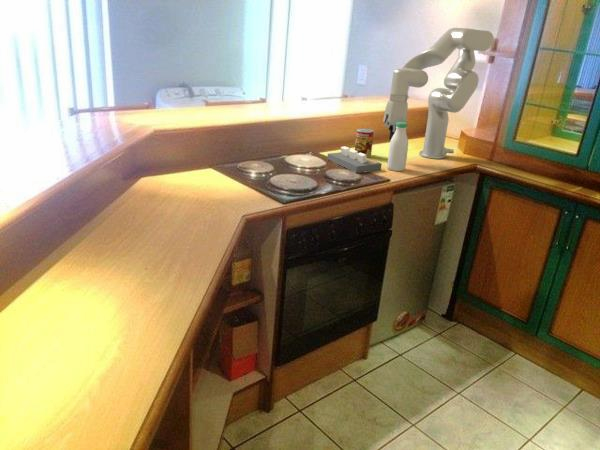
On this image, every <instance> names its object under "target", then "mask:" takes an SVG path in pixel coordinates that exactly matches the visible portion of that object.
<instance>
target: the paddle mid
mask: <svg viewBox="0 0 600 450" xmlns="http://www.w3.org/2000/svg"><path fill="white" fill-rule="evenodd" d="M357 154H358V151H356V150H355V149H353V148H352V149H350V150H349V157H350V158H352V159H354V160H355V159H357Z"/></svg>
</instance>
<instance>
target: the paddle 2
mask: <svg viewBox="0 0 600 450" xmlns="http://www.w3.org/2000/svg"><path fill="white" fill-rule="evenodd" d="M357 161H359V162H361V163H365V162H367V158H366V154H363V153H361V152H360V153H358V154H357Z"/></svg>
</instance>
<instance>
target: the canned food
mask: <svg viewBox="0 0 600 450" xmlns="http://www.w3.org/2000/svg"><path fill="white" fill-rule="evenodd" d="M373 140H374V130H373V129H369V128H357V129H356V134H355V145H354V150H356V151H358V153H360V152H361V153H363V154H366V157H367V158H369V159H370V158H371V157H372V151H373V142H374V141H373Z"/></svg>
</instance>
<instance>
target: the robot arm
mask: <svg viewBox="0 0 600 450" xmlns="http://www.w3.org/2000/svg"><path fill="white" fill-rule="evenodd" d="M494 42H495V37H494V35H493V33H492V32H491V31H489V30H483V29H482V30H481V29H474V28H469V27H451V28H449V29H448V30H446V31H445V32H444V33H443V35H442V36H441V37H440V38H439V39H438V40H436V42H435V43H433V44H432V46H431V47H429V49H427V50H424V51H423V52H421V53H419V54H416V55H415V56H413V57H412V58H411V59H409V60H407V61H406V63H405V64H404V65H402V67H401V68H395V69H394V70H393V73H392V81H391V87H390V96H389V100H388V101H387V103H386V104H385V105H386V106H385V109H384V115H383V119H382V120H383V123H384V128H387V129H388V131H389V141H391V139H392V137H393V135H394V133H395V131H396V123H397V122H405V123H407V120H408V111H409V109H408V108H409V106H408V99H409V90H410V87H412V88H422V87H424V86H426V85H427V83H428V82H429V75H428V73H427V72H426V71H425V70H424V69H427V68H431V67H435V66H439V65H441V64H443V63H444V62H445V61H446V60H447V59H448V58H449V57H450V56H451V55H452V54H453V53H454V52H455V51H456V50H458V57H457V59H456V61H455V62H454V64H453V65H452V66H451V67H450V69H449V71H448V72H447V73H446V75H445V77H444V79H443V85H444V87H445V88H443V87H437V88H436V87H435V88H434V89H432V90H431V91H430V93H429V94H428V99H427V100H428V101H427V104H428V106H427V107H428V111H427V112H428V116H427V121H426V129H425V135H424V142H423V147H422V148H423V149H422V150H420V151H419V153H418V154H419V156H421V157H424V158H428V159H435V160H437V159H438V160H439V159H444V158H446V157H447V154H454V152H455V150H454V149H452V148H448V147H447V148H446V147H445V144H446V137H447V132H448V126H449V118H450V117H449V113H458V112H461V110H462V109H464V107H465V106H466V105H467V103H468V102H469V100H470V99H471V98H472V96H473V95H474V93H475V91H476V90H477V88H478V87H479V86H478V85H479V80H480V78H479V75H478V74H477V72H476V71H473V69H474V67H475V66H476V56H475V51H477V52H485V51H486V52H487V51H489V50H490V49H491V48H492V46H493V45H494ZM448 112H449V113H448Z"/></svg>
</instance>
